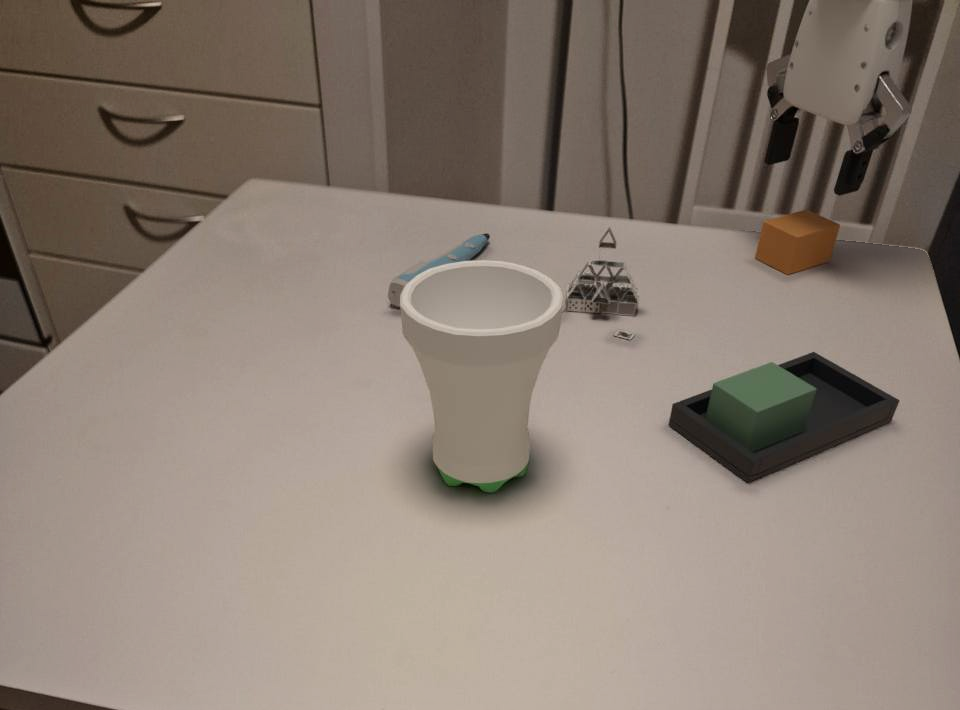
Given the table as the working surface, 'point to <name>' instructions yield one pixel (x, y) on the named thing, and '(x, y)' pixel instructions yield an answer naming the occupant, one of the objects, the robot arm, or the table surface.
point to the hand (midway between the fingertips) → (810, 176)
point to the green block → (760, 406)
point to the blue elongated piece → (437, 264)
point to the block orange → (797, 241)
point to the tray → (831, 421)
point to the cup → (481, 361)
